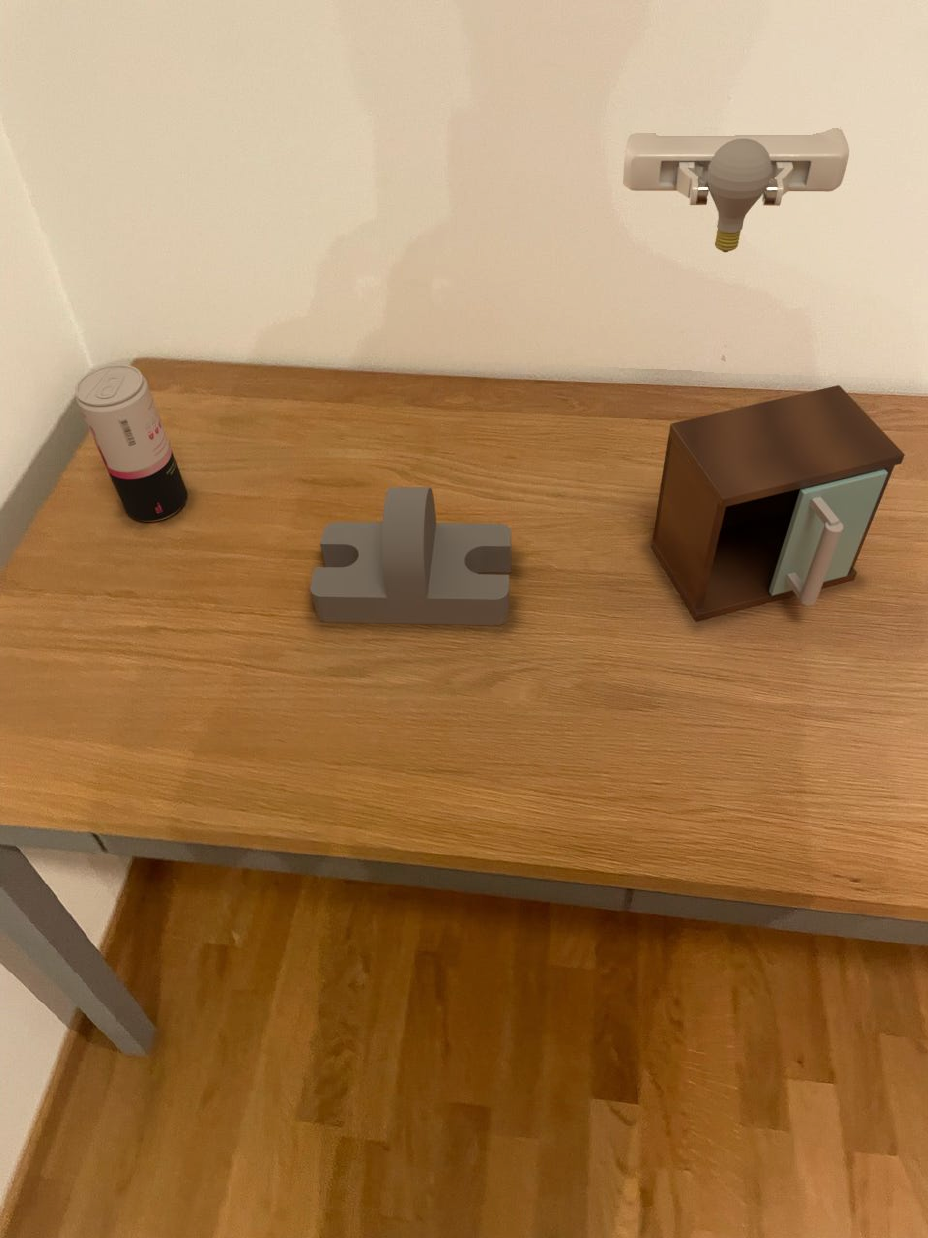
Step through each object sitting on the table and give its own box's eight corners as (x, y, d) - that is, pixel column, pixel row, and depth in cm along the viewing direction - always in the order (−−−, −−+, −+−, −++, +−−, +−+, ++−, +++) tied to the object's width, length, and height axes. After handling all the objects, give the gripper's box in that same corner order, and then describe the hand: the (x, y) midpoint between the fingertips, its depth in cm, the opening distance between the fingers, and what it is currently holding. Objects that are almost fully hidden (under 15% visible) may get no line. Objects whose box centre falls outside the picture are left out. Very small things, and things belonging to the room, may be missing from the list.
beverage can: (116, 523, 96) (62, 404, 84) (137, 480, 100) (88, 362, 88) (177, 525, 95) (130, 406, 84) (196, 483, 99) (154, 363, 88)
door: (843, 571, 85) (884, 468, 76) (869, 605, 82) (914, 502, 73) (768, 591, 84) (800, 488, 75) (792, 625, 81) (828, 524, 72)
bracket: (508, 625, 84) (507, 542, 76) (314, 622, 86) (292, 539, 78) (511, 550, 91) (511, 465, 82) (330, 547, 92) (312, 464, 84)
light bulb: (760, 264, 85) (783, 153, 78) (700, 266, 86) (717, 156, 78) (749, 234, 89) (770, 125, 81) (692, 237, 89) (707, 128, 81)
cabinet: (799, 509, 92) (839, 384, 81) (854, 580, 86) (905, 454, 75) (651, 547, 90) (670, 423, 79) (695, 621, 84) (723, 498, 72)
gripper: (623, 97, 90) (621, 161, 81) (842, 95, 88) (864, 161, 79) (619, 163, 95) (616, 230, 86) (825, 163, 92) (845, 232, 84)
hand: (736, 197), depth 82 cm, fingers closed on light bulb, 5 cm apart
